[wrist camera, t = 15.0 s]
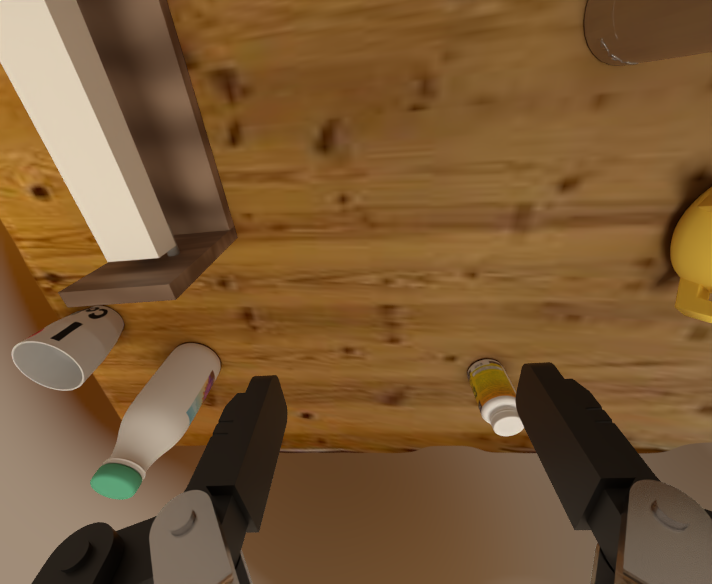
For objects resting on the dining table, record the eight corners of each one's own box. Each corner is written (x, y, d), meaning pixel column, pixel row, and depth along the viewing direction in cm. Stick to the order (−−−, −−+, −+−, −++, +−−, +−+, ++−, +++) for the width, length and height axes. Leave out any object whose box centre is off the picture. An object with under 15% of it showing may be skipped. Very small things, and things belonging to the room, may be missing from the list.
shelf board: (-12, -38, 22) (-64, -58, 19) (56, -49, 21) (12, -71, 19) (128, 249, 32) (108, 262, 29) (176, 245, 32) (159, 257, 29)
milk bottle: (163, 352, 50) (56, 480, 33) (198, 334, 48) (105, 460, 31) (197, 383, 54) (116, 514, 36) (232, 367, 52) (164, 498, 34)
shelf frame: (43, -33, 28) (-236, -154, 15) (151, -50, 27) (-45, -193, 14) (162, 243, 41) (67, 307, 28) (237, 237, 40) (175, 299, 27)
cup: (118, 294, 45) (59, 338, 36) (144, 339, 49) (96, 388, 40) (66, 299, 46) (-4, 343, 37) (95, 343, 50) (38, 392, 41)
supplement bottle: (460, 367, 50) (480, 422, 41) (493, 351, 48) (522, 406, 39) (475, 388, 52) (497, 445, 43) (508, 374, 50) (537, 431, 42)
